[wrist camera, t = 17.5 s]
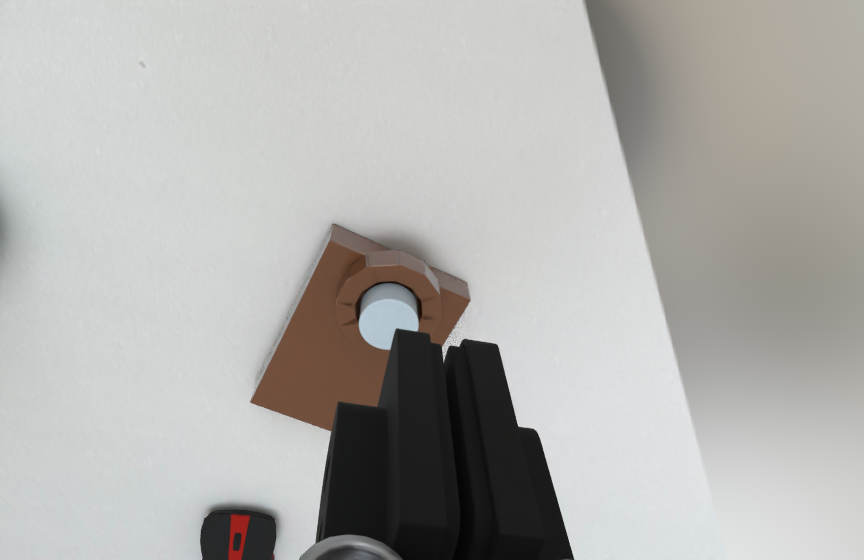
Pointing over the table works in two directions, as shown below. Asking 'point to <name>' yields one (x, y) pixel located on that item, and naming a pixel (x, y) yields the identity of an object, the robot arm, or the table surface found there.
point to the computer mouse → (238, 536)
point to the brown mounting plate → (348, 328)
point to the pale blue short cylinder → (387, 313)
